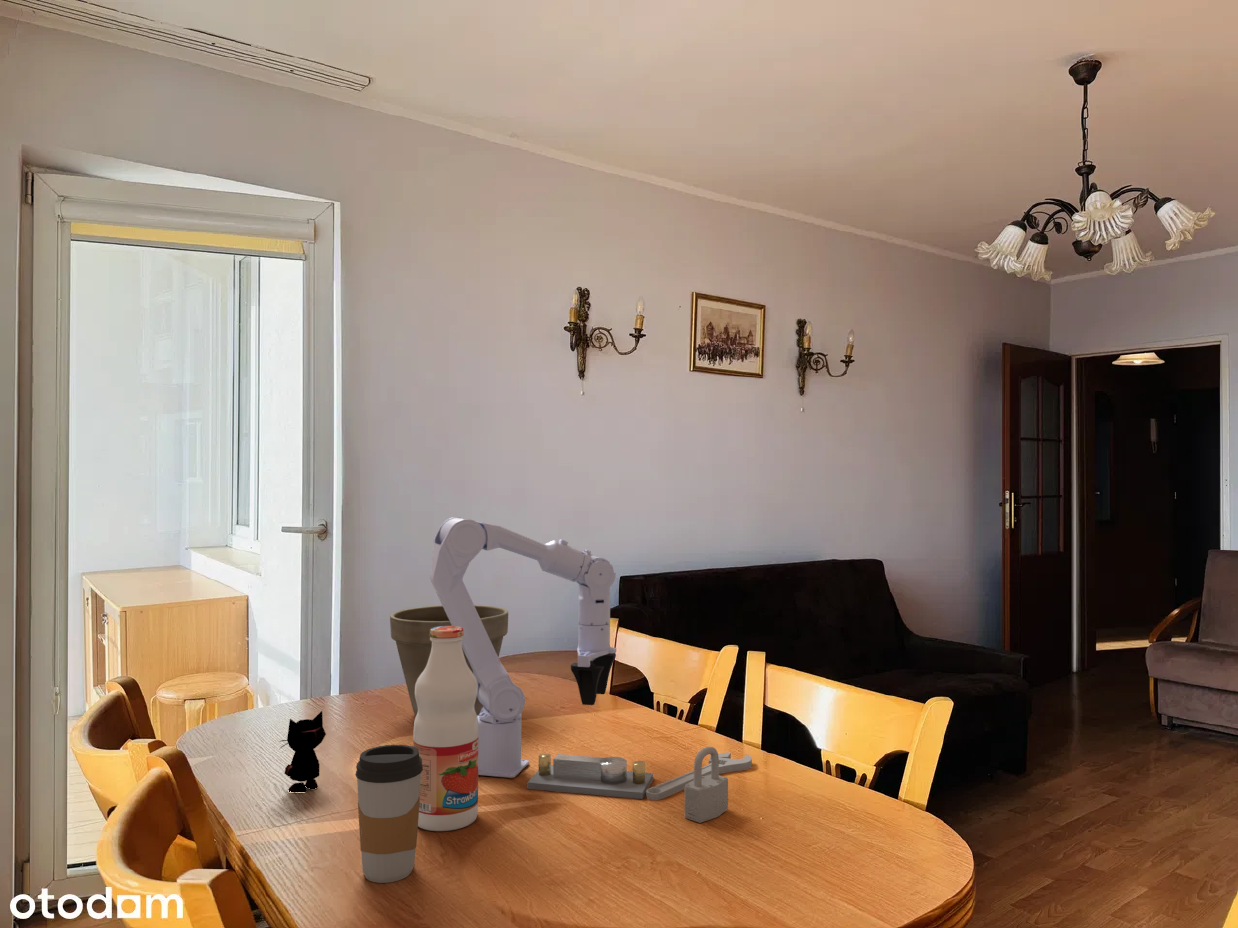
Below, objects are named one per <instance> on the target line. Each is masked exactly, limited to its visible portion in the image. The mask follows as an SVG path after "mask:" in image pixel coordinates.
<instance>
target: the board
mask: <svg viewBox="0 0 1238 928" xmlns="http://www.w3.org/2000/svg"><path fill="white" fill-rule="evenodd" d="M653 780H654V773H653V772H645V783H643V784H635V783H633V770H631V771H630V770H627V781H626V782H624V783H622V784H615V785H611V784H605V783H602V782H600V781H589V780H577V779H566V778H554V777H553V764H551V774H550V775H548V776H541V775H539V769H538V770H537V771H536V772H535V774H533V775H532V777H530V779H529V780H528V781H526V782H527V783H526V789H528V790H538V791H548V792H549V791H550V792H559V793H560V792H561V793H569V794H570V793H571V794H581V795H582V794H583V795H592V796H594V795H595V796H603V797H605V796H606V797H614V798H615V797H616V798H625V799H626V798H627V799H628V798H629V799H635V800H636V799H639V800H643V798H644V797H645V796H646V790H647V789H649V788H650V786H651V785H652V783H653Z"/></svg>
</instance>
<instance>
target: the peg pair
mask: <svg viewBox="0 0 1238 928" xmlns="http://www.w3.org/2000/svg"><path fill="white" fill-rule="evenodd" d="M551 758H552V756H551V754H550V753H540V754H539V755H538V770H539V775H541V776H548V775H550V774H551V765H552V764H551V762H552V760H551ZM632 772H633V783H635V784H643V783H645V773H646V763H645V762H644V761H641V760H637V761H633V762H632Z"/></svg>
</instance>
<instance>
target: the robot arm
mask: <svg viewBox="0 0 1238 928" xmlns="http://www.w3.org/2000/svg"><path fill="white" fill-rule="evenodd" d="M568 544H569V542H568V541H567V540H564V539H559V540H558V541H557V540H555V539H553V540H551V541H548V542H546V543H541V542H540V541H537V540H534V539H531V538H530V537H527V536H525V535H522V534H519V533H518V532H515V531H512V530H510V529H508V528H505V527H504V526H503V527H502V526H500V525H497V524H492V523H486V522H481V521H476V520H473V519H470V518H468V519H467V518H464V517H461V516H453V517H450V518H447V519H446V520H444V521H443V523H442V524H441V525H440V526H439V528H438V530H437V532H436V534H435V536H434V538H433V550H432V558H431V566H430V572H429V579H430V582H431V585H432V587H433V589H434V591H435V593H436V595H437V597H438V598H439V601H440V603H441V604H440V605H441V606H443V608H444V610H445V612H446V614H447V616H448V618H449V621H450V623H451V625H452V626H458V627H462V628H463V630H464V635H463V640H462V641H461V644H462V648H463V650H464V652H465V655H466V657H467V659H468V661H469V663H470V665H471V667H472V669H473V674H474V676H475V678H476V680H477V685H478V693H477V697H478V700H479V702H480V703H481V704H482V705H483V708H482V709H481V711H480V713H479V716H477V718H478V729H479V737H478V776H487V777H496V778H497V777H498V778H499V777H500V778H508V779H510V778H511V779H513V778H516V777H517V776H518V775H519V773H520V772H522V771H523V770H524V769H525V767H527V766H528V765H529V764H530V760H529V759H522V712H523V710H524V709H525V705H526V697H525V694H524V693H525V692H524V691H523V690H522V688H521V687H520V686H518V685H517V684H515V682H513V681H512V679H511V676H510V675H509V673H508V672H507V670H506V668H505V667H504V665H503V663H502V662H501V660H500V657H498V656H497V654H496V651H495V649H494V647H493V645H492V643H491V641H490V639H489V636H488V634H487V632H486V630H485V628H484V626H483V623H482V621H481V619H480V617H479V615H478V613H477V611H476V608H475V606H474V605H475V604H474V601H473V599H472V598H471V596H470V594H469V591H468V590H467V586H466V585H465V583H464V580H463V578H464V576H465V574H466V572H467V569H468V567H469V565H470V563H471V562H472V561H473V560H474V559H475V558H476V557H477V555H479V553H480V552H481V551H482V550H484V551H488V552H489V551H491V550H495V549H503V550H506V551H509V552H511V553H514V554H516V555H517V554H518V555H520V556H523V557H526V558H529V559H532V560H535V561H537V563H538V565H539V567H540V569H541V570H542V571H543V572H546V573H547V574H550V575H551V574H552V575H553V576H556V577H559V578H562V579H564V580H566V581H569V582H573V583H575V582H576V583H577V584H578V600H577V601H578V607H577V608H578V613H577V615H578V620H577V622H578V624H577V627H578V628H577V629H578V631H577V632H578V633H577V635H578V638H577V641H578V642H577V643H578V645H577V648H576V651H577V652H576V653H577V662H572V663H571V664H570V670H571V673H572V674H573V676H574V678H575V681H576V683H577V687H578V691H579V696H580V700H581V701H580V702H581V704H582V705H583V706H584V705H585V706H595V704H596V699H597V695H605V694H606V692H607V687H608V682H609V677H610V673H611V669H612V667H613V665H614V662H615V660H616V658H617V654H616V653H617V647H613V646H612V647H611V586H612V585H613V584H614V582H615V580H616V576H617V574H616V572H614V568H613V565H612V564H611V562H610V560H608V559H606V558H604V557H599V556H595V555H593V554H592V552H591V550H588V549H584V550H581V549H578V548H576V547H573V546H570V545H568Z"/></svg>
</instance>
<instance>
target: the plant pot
mask: <svg viewBox="0 0 1238 928" xmlns="http://www.w3.org/2000/svg"><path fill="white" fill-rule="evenodd" d="M474 606H475V608H476V611H477V613H478V615H479V617H480V619H481V621H482V623H483V626H484V628H485V630H486V632H487V634H488V636H489V639H490V641H491V643H492V645H493V647H494V649H495V651H496V654H497V656H498V658H500V652H501V649H502V644H503V640H504V636H506V635H507V634H508V631H509V611H508V610H507V609H505V608H503V607H498V606H492V605H477V604H474ZM389 625H390V637H391V639H392V640H393V641H395V643H396V648H397V653H398V656H399V660H400V664H401V669H402V672H403V673H402V674H403V677H404V682H405V684H406V689H407V692H408V696H409V701H410V704H411V708H412V711H413V714H414V716H415V717H416V715H417V712H418V706H417V702H416V699H415V685H416V681H417V679H418V678H419V676H420V675H421V673H422V672H423V671H424V669H425V667H426V665H427V663H428V659H429V656H430V653H431V648H432V641H431V640H430V629H431V628H434V627H439V626H452V625H451V623H450V621H449V618H448V616H447V614H446V612H445V610H444V608H443V606H442V605H430V606H429V605H428V606H420V607H411V608H406V609H401V610H397V611H395V612H393V613H391V614H390V615H389ZM462 650H463V648H462ZM463 654H464V657H465V660H466V663H467V665H468V667H469V669H470V670H471V671H472V673H473V669H472V667H471V665H470V663H469V661H468V659H467V657H466V655H465V652H464V650H463ZM474 708H475V712H476V714H477V716H479V713H480V711H481V709H482V708H483V705H482V704H481V703H480V702H479V700H478V697H476V701H475V705H474Z"/></svg>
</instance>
